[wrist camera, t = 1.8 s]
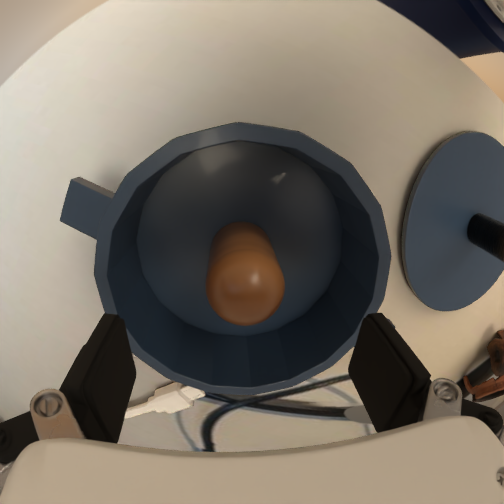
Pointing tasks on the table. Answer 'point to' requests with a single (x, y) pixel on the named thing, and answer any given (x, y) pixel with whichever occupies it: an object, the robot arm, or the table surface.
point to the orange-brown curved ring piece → (500, 354)
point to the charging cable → (167, 400)
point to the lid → (456, 223)
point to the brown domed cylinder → (243, 275)
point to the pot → (199, 244)
